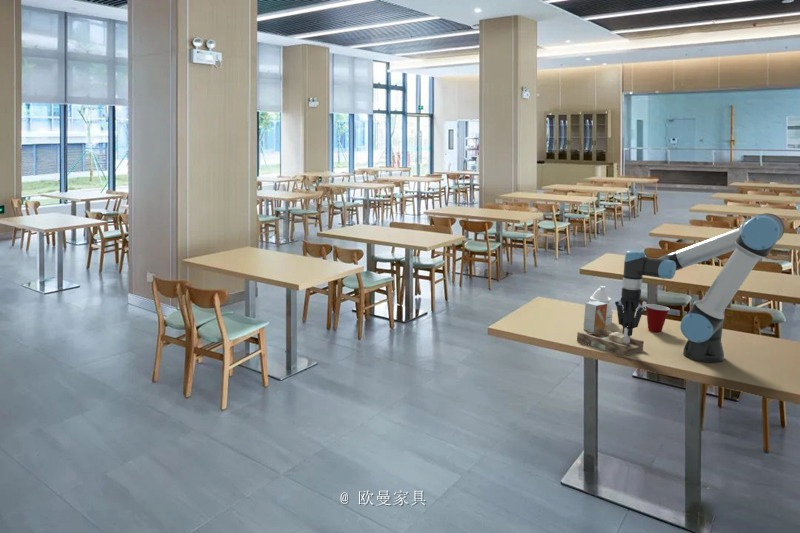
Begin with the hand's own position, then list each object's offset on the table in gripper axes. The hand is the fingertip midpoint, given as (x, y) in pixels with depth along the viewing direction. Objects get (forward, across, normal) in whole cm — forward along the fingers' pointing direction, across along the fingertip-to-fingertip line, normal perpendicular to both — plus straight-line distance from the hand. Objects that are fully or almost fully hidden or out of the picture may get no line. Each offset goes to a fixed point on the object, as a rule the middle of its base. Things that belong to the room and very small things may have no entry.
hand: (626, 342), depth 268 cm
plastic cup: (+4, +9, -37) cm, 38 cm away
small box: (+4, +26, -14) cm, 30 cm away
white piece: (+4, +34, -28) cm, 44 cm away
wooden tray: (+4, +8, 0) cm, 9 cm away
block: (+2, +4, 0) cm, 4 cm away
